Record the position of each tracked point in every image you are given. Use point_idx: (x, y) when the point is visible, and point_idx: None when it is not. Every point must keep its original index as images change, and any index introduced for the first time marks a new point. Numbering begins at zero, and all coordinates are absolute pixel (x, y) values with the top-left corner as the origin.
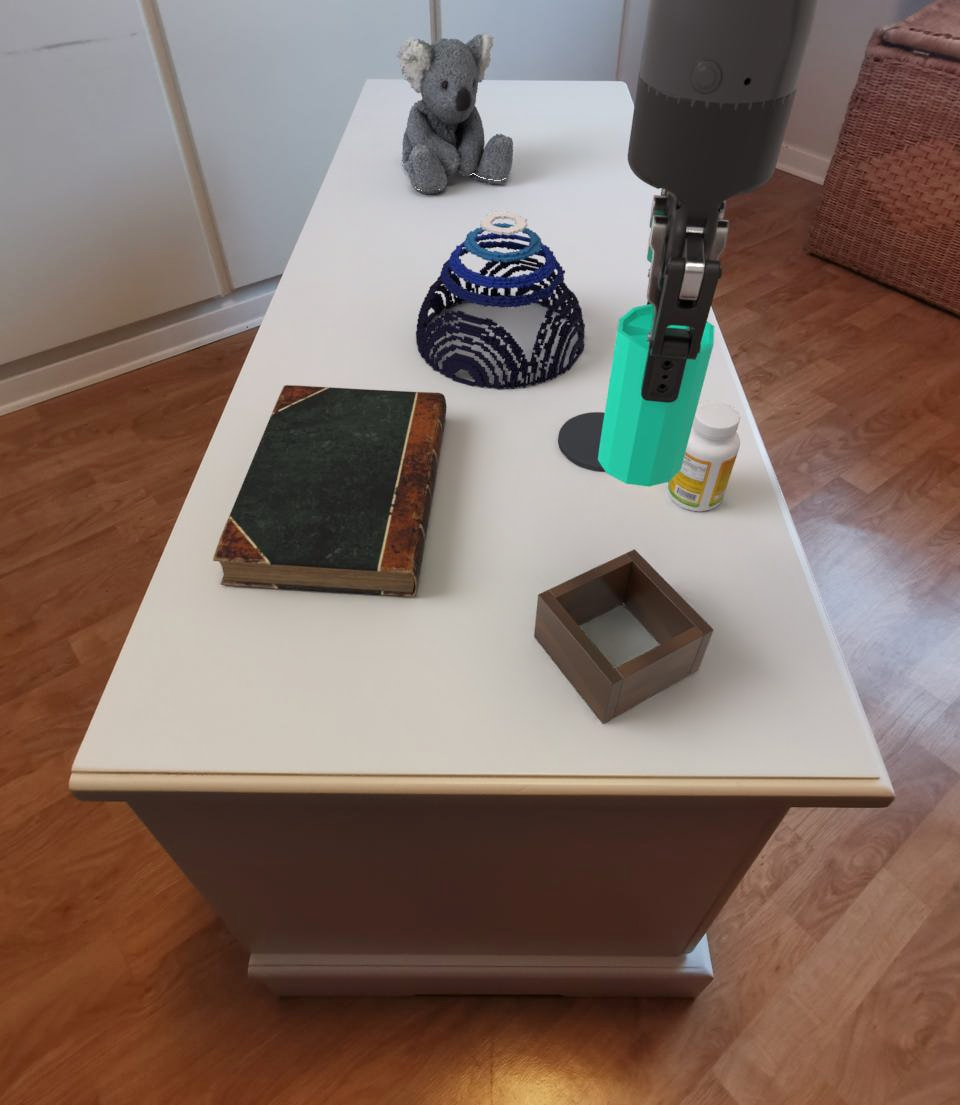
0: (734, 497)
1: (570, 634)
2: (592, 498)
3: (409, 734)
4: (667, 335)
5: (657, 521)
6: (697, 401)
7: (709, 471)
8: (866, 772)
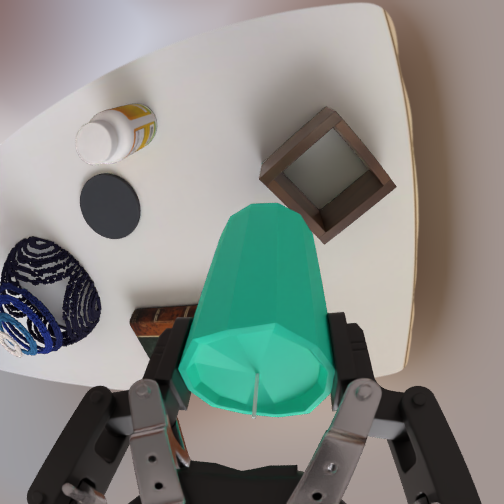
0: (130, 94)
1: (357, 218)
2: (169, 201)
3: (393, 274)
4: (407, 438)
5: (177, 148)
6: (281, 257)
7: (138, 127)
8: (379, 7)
